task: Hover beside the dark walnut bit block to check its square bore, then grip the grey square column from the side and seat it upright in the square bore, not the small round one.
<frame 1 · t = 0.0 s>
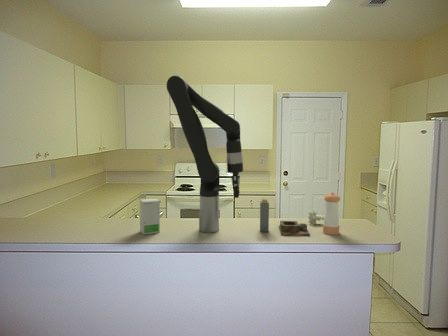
hand: (236, 195, 151), 17 cm above the table, fingers open, 8 cm apart
pepper shaker: (330, 232, 151), on the table
skincare box: (150, 232, 152), on the table
bit block: (293, 231, 152), on the table
grey square column: (264, 230, 153), on the table
valve: (320, 224, 165), on the table
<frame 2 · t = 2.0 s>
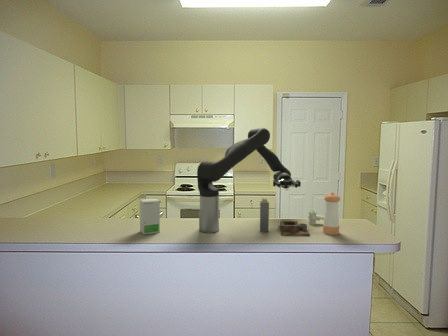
hand: (287, 185, 161), 20 cm above the table, fingers open, 8 cm apart
nothing on the table moved.
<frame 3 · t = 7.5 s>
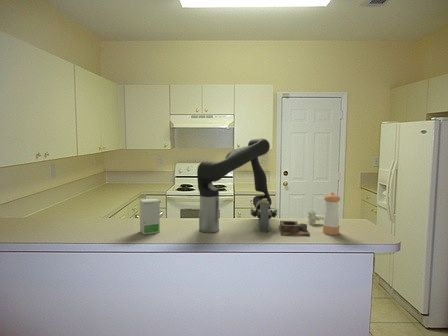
hand: (264, 217, 150), 8 cm above the table, fingers closed on grey square column, 4 cm apart
grey square column: (264, 230, 153), on the table, touching gripper
everything else where it was.
when the fingers open (10 cm above the table, at t = 12.5 s): grey square column drops 1 cm, resting on bit block.
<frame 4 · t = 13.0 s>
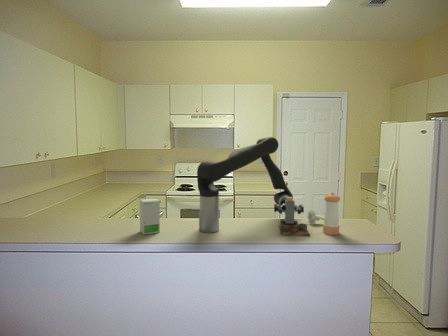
hand: (290, 212, 149), 10 cm above the table, fingers open, 8 cm apart
grey square column: (289, 229, 152), point 1 cm above the table, touching bit block
everything else where it was.
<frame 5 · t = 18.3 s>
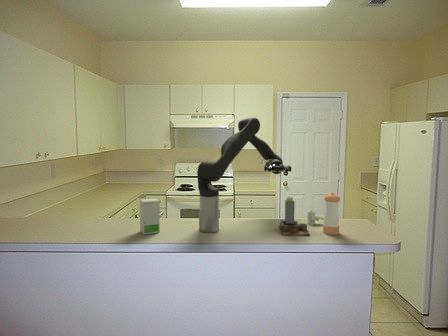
hand: (278, 170, 162), 28 cm above the table, fingers open, 8 cm apart
nothing on the table moved.
at the end: grey square column 0.1 cm from the target spot on the bit block, point 1.0 cm above the bit block's base; grey square column tilted 0°; the gripper is holding nothing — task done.
